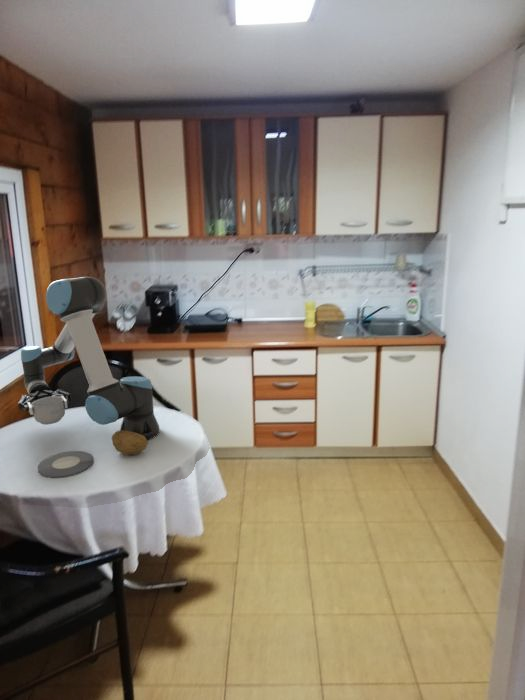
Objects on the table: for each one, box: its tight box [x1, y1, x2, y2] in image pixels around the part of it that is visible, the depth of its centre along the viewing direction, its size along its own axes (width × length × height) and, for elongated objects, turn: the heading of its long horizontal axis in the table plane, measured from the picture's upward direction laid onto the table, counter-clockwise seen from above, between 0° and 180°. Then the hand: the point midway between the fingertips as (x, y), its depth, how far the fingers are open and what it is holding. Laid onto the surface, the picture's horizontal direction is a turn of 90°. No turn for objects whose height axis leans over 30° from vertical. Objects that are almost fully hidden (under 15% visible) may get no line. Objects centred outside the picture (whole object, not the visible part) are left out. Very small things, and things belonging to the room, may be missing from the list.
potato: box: [111, 430, 148, 456], centre depth 178 cm, size 10×14×8 cm
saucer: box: [37, 450, 95, 479], centre depth 171 cm, size 18×18×1 cm
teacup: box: [31, 395, 66, 426], centre depth 179 cm, size 14×11×8 cm
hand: (49, 407), depth 175 cm, fingers closed on teacup, 11 cm apart
